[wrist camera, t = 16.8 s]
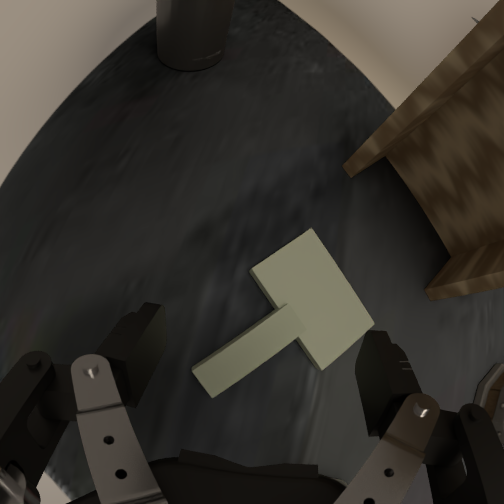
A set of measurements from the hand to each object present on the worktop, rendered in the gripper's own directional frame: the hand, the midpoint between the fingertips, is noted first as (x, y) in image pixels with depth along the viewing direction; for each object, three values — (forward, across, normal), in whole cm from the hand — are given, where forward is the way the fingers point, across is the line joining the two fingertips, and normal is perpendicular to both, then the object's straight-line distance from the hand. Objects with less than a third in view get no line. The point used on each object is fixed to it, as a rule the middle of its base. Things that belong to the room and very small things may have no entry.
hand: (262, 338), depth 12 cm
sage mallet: (+16, -1, +10) cm, 19 cm away
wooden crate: (+27, -17, 0) cm, 32 cm away
